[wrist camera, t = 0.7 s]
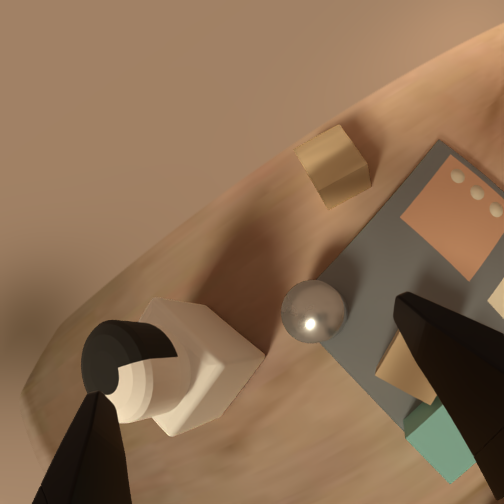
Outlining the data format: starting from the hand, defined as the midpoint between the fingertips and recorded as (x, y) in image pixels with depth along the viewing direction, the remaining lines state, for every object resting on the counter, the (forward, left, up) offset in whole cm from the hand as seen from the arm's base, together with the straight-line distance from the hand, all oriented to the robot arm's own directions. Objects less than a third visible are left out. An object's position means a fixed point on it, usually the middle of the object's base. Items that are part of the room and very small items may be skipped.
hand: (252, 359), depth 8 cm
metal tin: (+2, -1, -15) cm, 15 cm away
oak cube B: (+7, -8, -14) cm, 18 cm away
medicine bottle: (+6, +9, -16) cm, 19 cm away
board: (-5, -8, -16) cm, 18 cm away
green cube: (-10, -2, -15) cm, 18 cm away
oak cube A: (-5, -3, -15) cm, 16 cm away
